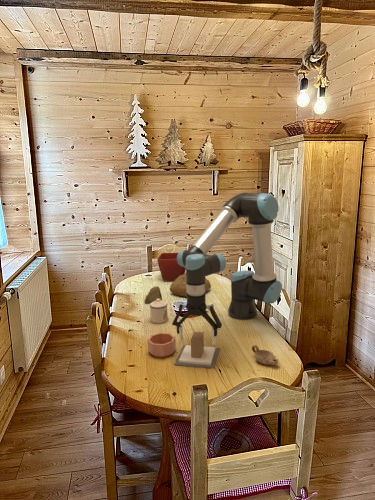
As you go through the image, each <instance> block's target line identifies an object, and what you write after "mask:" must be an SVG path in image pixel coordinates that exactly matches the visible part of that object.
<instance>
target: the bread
mask: <svg viewBox="0 0 375 500" xmlns="http://www.w3.org/2000/svg"><path fill="white" fill-rule="evenodd" d="M211 285H212V284H211V281H210V280H209V279H208V278H207V277H205V293H206V292H208V291H209V290H210V289H211V288H212V286H211ZM169 291H170V293H171V294H173V295H175V296H179V297H185V298H187V288H186V273H185V274H183V275H180V276H179V277H178V278H177V279H176V280H175V281H172V282H171V284H170V285H169Z"/></svg>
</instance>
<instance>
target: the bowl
mask: <svg viewBox="0 0 375 500" xmlns="http://www.w3.org/2000/svg"><path fill="white" fill-rule="evenodd" d="M176 344H177V343H176V336H174V335H173V334H172V333H170V332H168V333H167V332H157V333H155V334H151V335H150V336H149V338H147V351H148V352H149V353H150V355H151V356H153V357H155V358H166V357H170V356H171V355H173V354H174V352H175V350H176V348H177V347H176V346H177V345H176Z"/></svg>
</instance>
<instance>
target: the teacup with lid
mask: <svg viewBox="0 0 375 500" xmlns="http://www.w3.org/2000/svg"><path fill="white" fill-rule="evenodd" d="M149 308H150V310H149V312H150V321H151V322H152V323H153V324H163V323H166V322H168V303H167V302H166V301H164V300H163V299H162V300H160V299H156V301H154V302H152V303H149Z"/></svg>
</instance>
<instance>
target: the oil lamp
mask: <svg viewBox="0 0 375 500" xmlns="http://www.w3.org/2000/svg"><path fill="white" fill-rule="evenodd" d="M251 350H252V352H253V353H254V358H255V360H256V362H258V363H259V364H261V365H267V366H277V364H278V363H279V359H278V358H276V355H274V353H273V352H271V351H269V350H268V349H267V350H266V349H260V348H259V346H258V345H257V344H254V345H252V346H251Z"/></svg>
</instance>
